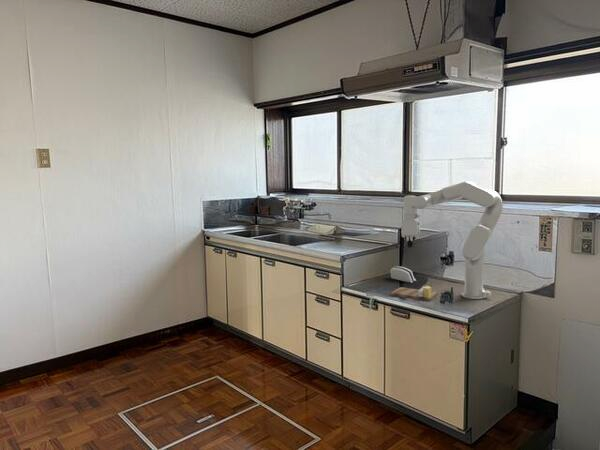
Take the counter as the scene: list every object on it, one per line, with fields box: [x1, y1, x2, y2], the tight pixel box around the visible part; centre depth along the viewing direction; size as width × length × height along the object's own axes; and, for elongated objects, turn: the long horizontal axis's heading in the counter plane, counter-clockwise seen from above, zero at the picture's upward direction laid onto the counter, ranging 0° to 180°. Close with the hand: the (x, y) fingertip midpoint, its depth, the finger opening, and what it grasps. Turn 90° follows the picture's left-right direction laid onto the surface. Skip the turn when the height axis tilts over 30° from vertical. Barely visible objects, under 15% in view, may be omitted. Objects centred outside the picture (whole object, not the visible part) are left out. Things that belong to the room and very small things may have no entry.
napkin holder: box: [389, 266, 417, 283], centre depth 294 cm, size 17×5×10 cm, turn 38°
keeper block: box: [423, 285, 432, 298], centre depth 253 cm, size 3×4×5 cm
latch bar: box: [418, 284, 430, 297], centre depth 257 cm, size 14×3×3 cm, turn 150°
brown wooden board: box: [390, 286, 440, 302], centre depth 261 cm, size 23×14×2 cm, turn 55°
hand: (410, 247), depth 271 cm, fingers closed
